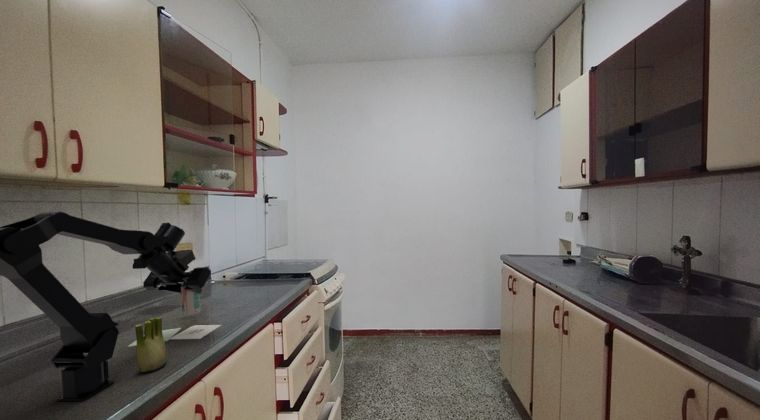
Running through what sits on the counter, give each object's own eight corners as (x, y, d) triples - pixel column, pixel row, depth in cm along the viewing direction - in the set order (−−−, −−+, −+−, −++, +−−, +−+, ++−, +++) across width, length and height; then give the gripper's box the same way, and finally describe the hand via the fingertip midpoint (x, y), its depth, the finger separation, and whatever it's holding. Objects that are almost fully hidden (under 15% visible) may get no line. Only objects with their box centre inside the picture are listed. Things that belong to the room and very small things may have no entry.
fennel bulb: (138, 377, 67) (134, 325, 67) (136, 370, 71) (133, 320, 71) (169, 367, 71) (165, 318, 71) (165, 360, 75) (162, 313, 75)
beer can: (184, 313, 94) (182, 275, 94) (201, 310, 96) (199, 273, 96) (180, 317, 89) (178, 278, 89) (199, 314, 91) (196, 276, 91)
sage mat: (167, 341, 87) (167, 340, 87) (128, 347, 85) (127, 346, 85) (181, 328, 97) (181, 327, 97) (146, 333, 94) (146, 332, 94)
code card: (199, 338, 87) (199, 338, 87) (169, 339, 88) (169, 338, 88) (221, 325, 97) (221, 324, 97) (193, 326, 98) (193, 325, 98)
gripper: (204, 240, 87) (230, 270, 98) (149, 243, 90) (181, 272, 101) (185, 272, 80) (216, 300, 90) (125, 274, 82) (162, 302, 93)
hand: (193, 292), depth 94 cm, fingers closed on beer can, 5 cm apart
